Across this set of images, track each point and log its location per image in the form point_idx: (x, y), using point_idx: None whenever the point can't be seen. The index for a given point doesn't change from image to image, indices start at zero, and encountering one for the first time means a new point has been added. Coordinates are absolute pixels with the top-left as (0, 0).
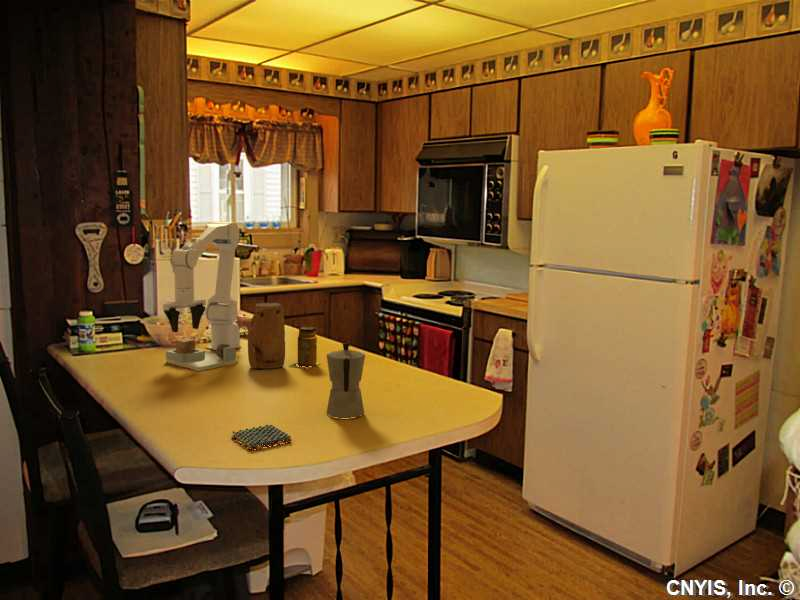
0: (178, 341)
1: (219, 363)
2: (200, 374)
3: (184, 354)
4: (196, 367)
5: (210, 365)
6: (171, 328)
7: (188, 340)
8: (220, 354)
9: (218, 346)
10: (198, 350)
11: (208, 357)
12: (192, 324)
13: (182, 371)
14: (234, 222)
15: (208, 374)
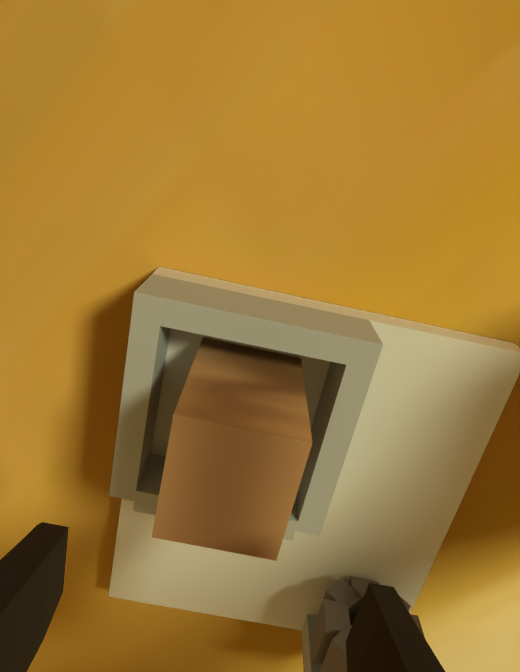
0: (167, 450)
1: (254, 620)
2: (72, 614)
3: (133, 498)
4: (112, 572)
5: (190, 607)
6: (13, 548)
7: (228, 525)
8: (311, 635)
9: (343, 658)
10: (307, 491)
11: (346, 497)
12: (384, 625)
13: (54, 511)
14: None
15: (98, 640)
